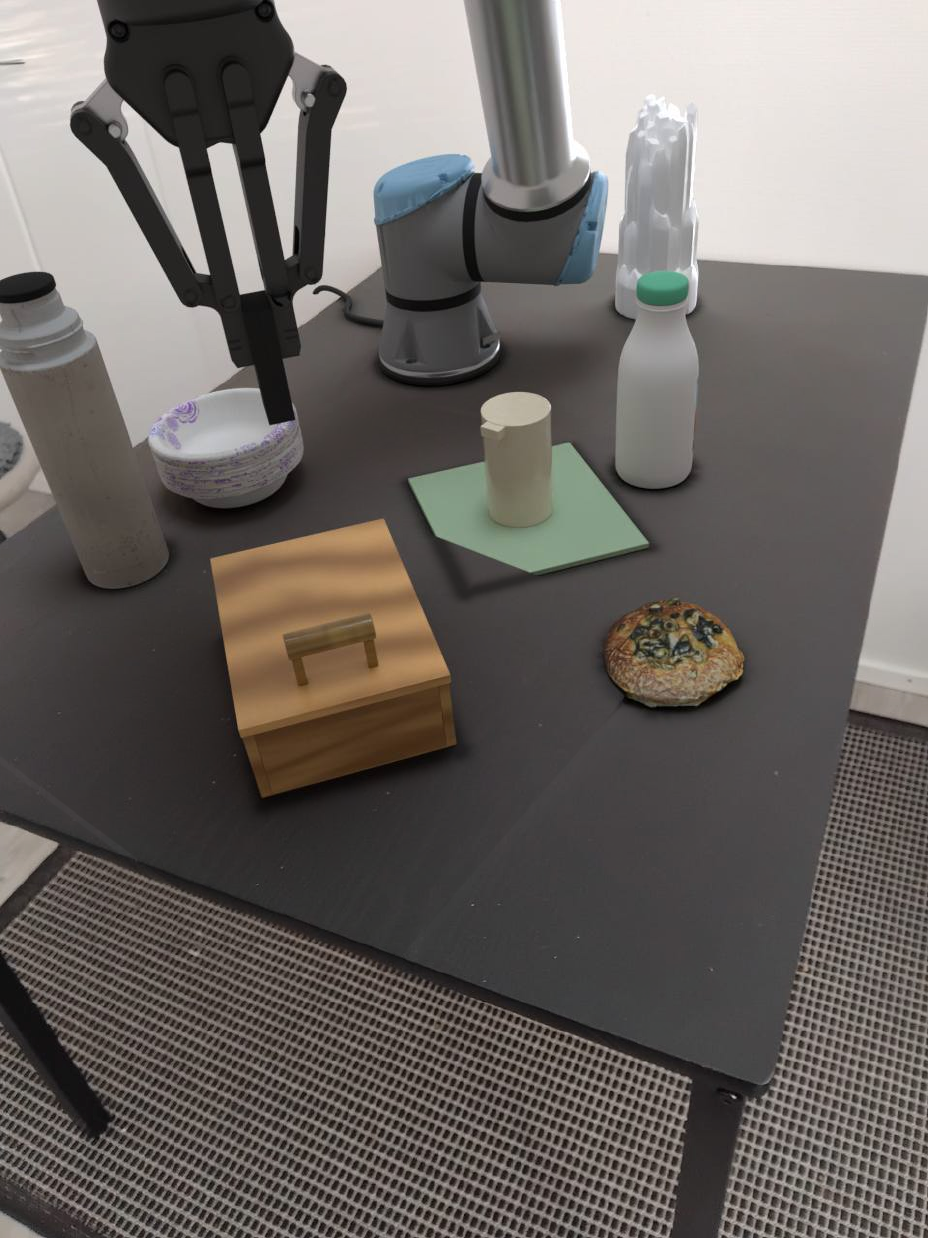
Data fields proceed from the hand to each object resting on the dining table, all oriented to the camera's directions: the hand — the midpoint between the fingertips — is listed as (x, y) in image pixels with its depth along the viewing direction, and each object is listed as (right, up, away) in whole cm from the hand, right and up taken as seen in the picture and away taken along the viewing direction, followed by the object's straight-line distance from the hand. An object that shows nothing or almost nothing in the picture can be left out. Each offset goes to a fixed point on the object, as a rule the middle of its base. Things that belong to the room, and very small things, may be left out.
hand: (279, 411), depth 56 cm
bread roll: (+27, -16, +23) cm, 39 cm away
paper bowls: (-13, +2, +49) cm, 51 cm away
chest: (0, -18, +23) cm, 29 cm away
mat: (+16, -1, +41) cm, 44 cm away
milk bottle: (+30, +3, +45) cm, 54 cm away
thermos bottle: (-22, -7, +39) cm, 46 cm away
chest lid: (0, -12, +18) cm, 22 cm away
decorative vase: (+36, +30, +76) cm, 90 cm away
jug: (+16, -1, +40) cm, 43 cm away
